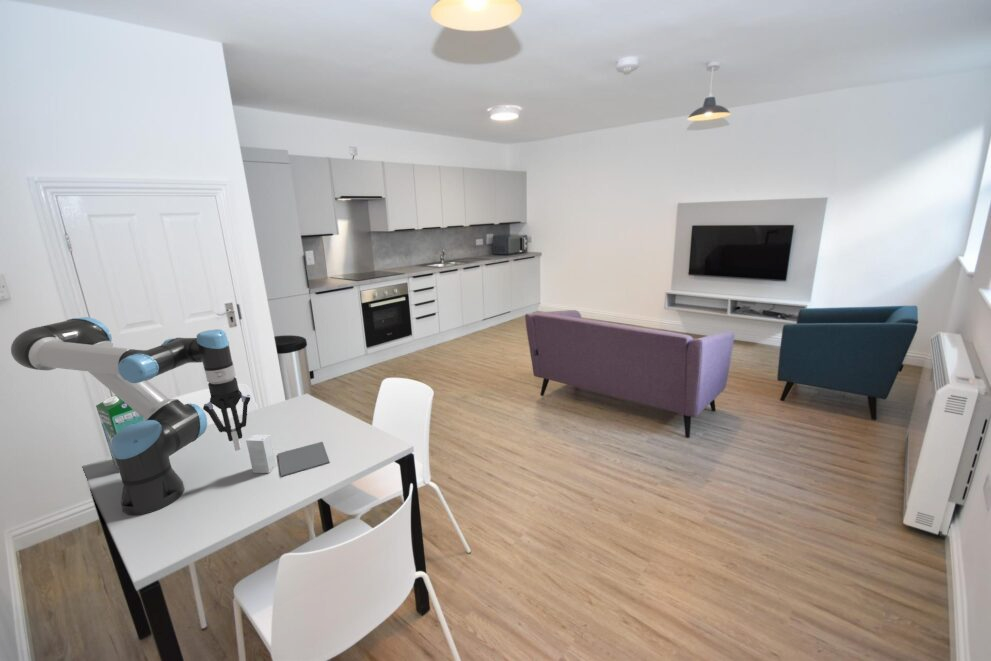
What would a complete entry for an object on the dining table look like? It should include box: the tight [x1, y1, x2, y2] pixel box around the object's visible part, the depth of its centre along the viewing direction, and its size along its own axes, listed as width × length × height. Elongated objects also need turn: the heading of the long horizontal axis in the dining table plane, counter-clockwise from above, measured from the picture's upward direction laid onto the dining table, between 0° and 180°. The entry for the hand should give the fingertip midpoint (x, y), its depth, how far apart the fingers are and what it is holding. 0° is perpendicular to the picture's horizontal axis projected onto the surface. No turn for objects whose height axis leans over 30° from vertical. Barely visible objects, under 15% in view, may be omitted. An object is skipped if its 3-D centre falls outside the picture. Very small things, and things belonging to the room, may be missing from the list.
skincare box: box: [245, 434, 277, 474], centre depth 143 cm, size 6×4×12 cm
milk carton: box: [95, 394, 144, 467], centre depth 150 cm, size 9×9×25 cm
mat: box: [277, 441, 331, 478], centre depth 150 cm, size 15×16×1 cm
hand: (238, 448), depth 139 cm, fingers closed
